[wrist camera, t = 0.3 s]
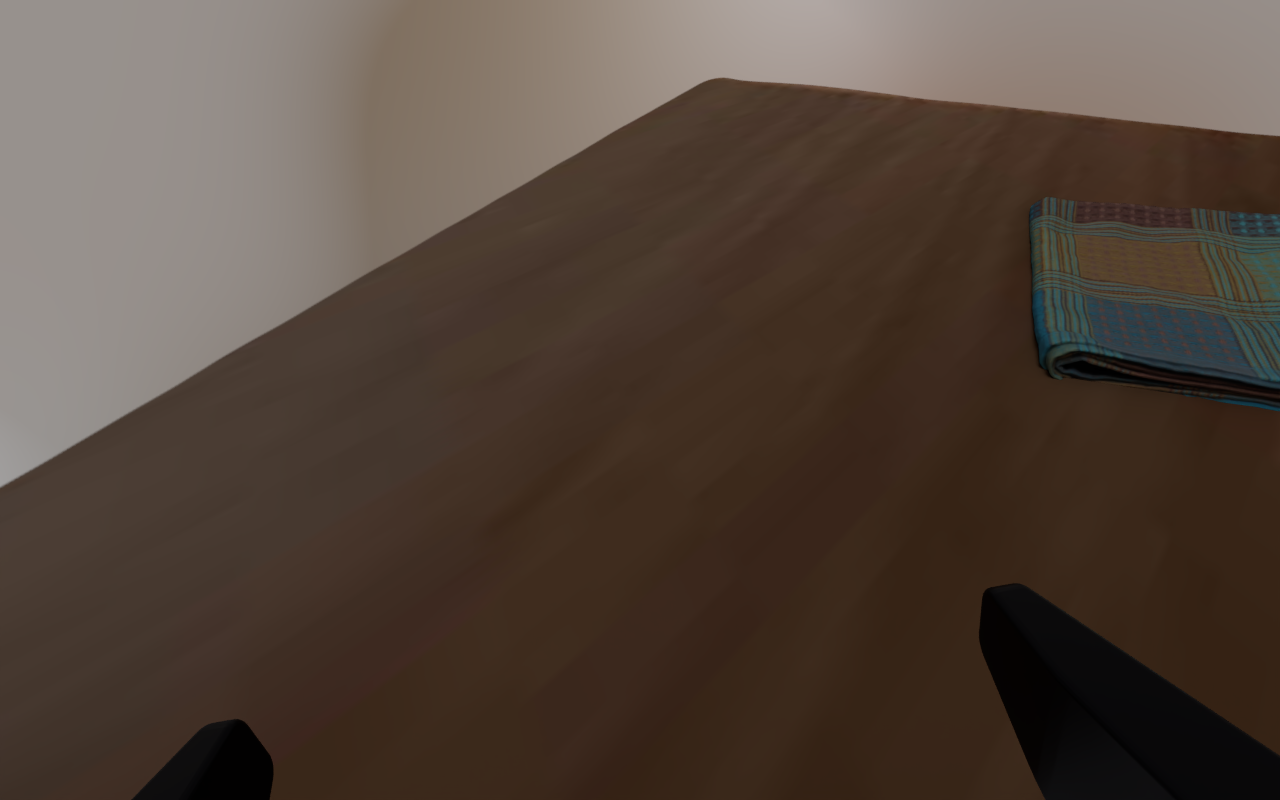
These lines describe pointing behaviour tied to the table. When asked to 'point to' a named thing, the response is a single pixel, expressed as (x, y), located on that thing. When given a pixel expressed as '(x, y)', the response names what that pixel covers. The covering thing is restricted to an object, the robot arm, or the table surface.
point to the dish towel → (1159, 298)
